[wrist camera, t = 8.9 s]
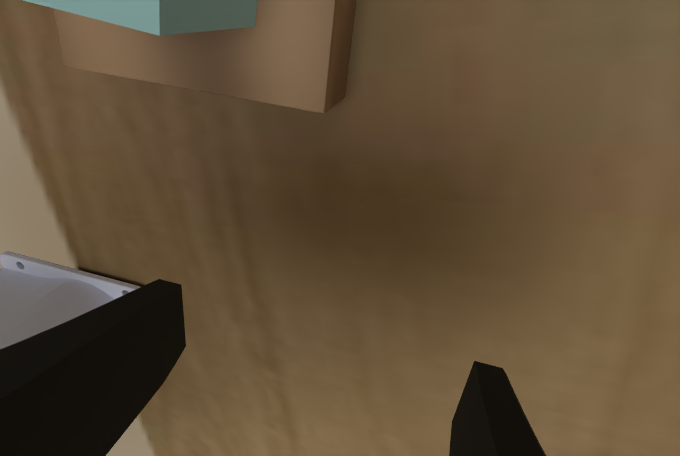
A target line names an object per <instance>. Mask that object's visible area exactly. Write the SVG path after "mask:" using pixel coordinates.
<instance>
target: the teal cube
mask: <svg viewBox="0 0 680 456" xmlns="http://www.w3.org/2000/svg"><path fill="white" fill-rule="evenodd" d="M24 1H28V2H32V3H35V4H39V5H43V6H47V7H51V8H55V9H59V10H62V11H66V12H70V13H74V14H78V15H82V16H85V17H89V18H93V19H97V20H101V21H105V22H109V23H112V24H116V25H120V26H124V27H128V28H132V29H135V30H139V31H143V32H147V33H151V34H155V35H159V36H162V35H173V34H183V33H194V32H205V31H215V30H226V29H236V28H247V27H255V21H256V10H257V0H24Z"/></svg>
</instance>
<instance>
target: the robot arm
mask: <svg viewBox="0 0 680 456" xmlns="http://www.w3.org/2000/svg"><path fill="white" fill-rule="evenodd" d="M0 263H1V266H2V268H1V269H0V456H106V454H107V453H108V452H109V451H110V449H111V448H112V447H113V446H114V444H115V443H116V442H117V441H118V439H119V438H120V437H121V436H122V434H123V433H124V432H125V430H126V429H127V428H128V427H129V426H130V424H131V423H132V422H133V421H134V419H135V418H136V417H137V416H138V414H139V413H140V412H141V411H142V409H143V408H144V407H145V406H146V404H147V403H148V402H149V401H150V399H151V398H152V397H153V395H154V394H155V393H156V392H157V390H158V389H159V388H160V386H161V385H162V384H163V382H164V381H165V380H166V378H167V376H168V375H169V373H170V372H171V370H172V368H173V367H174V365H175V364H176V362H177V360H178V358H179V357H180V355H181V353H182V352H183V350H184V348H185V347H186V341H185V328H184V314H183V301H182V288H181V285H180V284H176V283H173V282H169V281H165V280H161V279H158V280H156V281H154V282H151V283H149V284H147V285H144V286H142V287H139V286H137V285H133V284H129V283H126V282H122V281H118V280H114V279H111V278H107V277H103V276H99V275H95V274H92V273H88V272H84V271H80V270H77V269H73V268H69V267H65V266H61V265H58V264H54V263H50V262H46V261H42V260H39V259H35V258H31V257H28V256H24V255H20V254H16V253H12V252H5V253H3V254H1V255H0ZM449 456H546V455H545V453H544V451H543V449H542V447H541V445H540V444H539V442H538V440H537V438H536V436H535V434H534V432H533V430H532V428H531V426H530V424H529V422H528V420H527V418H526V416H525V414H524V412H523V410H522V407H521V405H520V403H519V401H518V399H517V397H516V395H515V392H514V390H513V388H512V386H511V384H510V381H509V379H508V377H507V375H506V373H505V371H504V370H503V368H500V367H496V366H492V365H488V364H484V363H480V362H476V361H474V363H473V366H472V369H471V372H470V374H469V377H468V380H467V382H466V385H465V388H464V391H463V393H462V396H461V399H460V401H459V404H458V407H457V410H456V412H455V415H454V418H453V420H452V429H451V441H450V454H449Z"/></svg>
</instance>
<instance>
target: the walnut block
mask: <svg viewBox="0 0 680 456" xmlns="http://www.w3.org/2000/svg"><path fill="white" fill-rule="evenodd" d="M355 6H356V0H257V10H256V21H255V27H247V28H236V29H226V30H215V31H205V32H194V33H183V34H173V35H162V36H159V35H155V34H151V33H147V32H143V31H139V30H135V29H132V28H128V27H124V26H120V25H116V24H112V23H109V22H105V21H101V20H97V19H93V18H89V17H85V16H82V15H78V14H74V13H70V12H66V11H62V10H59V9H55V8H54V12H55V18H56V23H57V29H58V34H59V40H60V45H61V51H62V56H63V62H64V66H66V67H71V68H77V69H82V70H88V71H93V72H99V73H104V74H110V75H115V76H121V77H126V78H132V79H137V80H143V81H148V82H154V83H159V84H165V85H170V86H176V87H181V88H187V89H192V90H198V91H203V92H209V93H214V94H220V95H225V96H231V97H236V98H242V99H247V100H253V101H258V102H264V103H269V104H275V105H280V106H286V107H291V108H297V109H302V110H308V111H313V112H319V113H325V112H326V111H328V110H329V109H330V108H331V107H333V106H334V105H335V104H336V103H338V102H339V101H340V100H341V99H343V98H344V97H345V89H346V81H347V72H348V64H349V56H350V48H351V39H352V31H353V23H354V15H355Z"/></svg>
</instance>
